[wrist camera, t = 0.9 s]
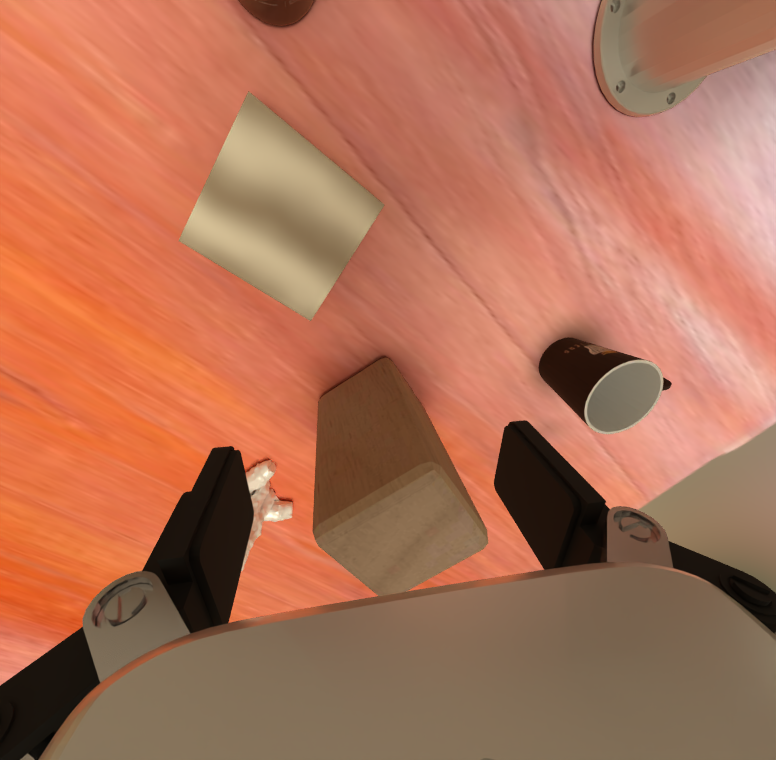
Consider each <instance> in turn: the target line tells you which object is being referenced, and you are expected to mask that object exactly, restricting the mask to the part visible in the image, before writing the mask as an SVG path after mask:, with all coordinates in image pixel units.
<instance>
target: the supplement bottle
mask: <svg viewBox="0 0 776 760" xmlns="http://www.w3.org/2000/svg"><path fill="white" fill-rule="evenodd" d="M239 1H240V3H241V4H242V5H243V6H244V7H245V8H246V9H247V10H248V11H249V12H250V13H251V14H252V15H254V16H255V17H256V18H258V19H260V20H261V21H263V22H265V23H268V24H271V25H276V26H285V25H290V24H293V23H295V22H297V21H298V20H300V19H301V18H302V17H303V16H304V15H305V14H306V13H307V12H308V10H309V9H310V7H311V6H312V4H313V2H314V0H239Z"/></svg>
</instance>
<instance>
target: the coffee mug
mask: <svg viewBox="0 0 776 760" xmlns="http://www.w3.org/2000/svg"><path fill="white" fill-rule="evenodd" d="M539 372H540V375H541V377H542V378H543V379H544V381H545V382H546V383H547V384H548V385H549V386H550V387H551V388H552V389H553V390H554V391H555V392H556V393H557V394H558V395H559V396H560V397H561V398H562V399H563V400H564V401H565V402H566V403H567V404H568V405H569V406H570V407H571V408H572V410H573V411H574V412H575V413H576V414H577V415H578V416H579V417H580V418H581V419H582V420H583V421H584V422H585V423H586V424H587V425H588V426H589V427H590V428H591V429H592V430H594V431H596V432H598V433H602V434H614V433H619V432H622V431H624V430H627V429H629V428H631V427H633V426H634V425H636V424H637V423H639V422H640V421H641V420H642V419H643V418H645V417H646V416H647V415H648V414H649V412H650V411H651V410H652V409H653V408H654V406H655V405H656V403H657V401H658V399H659V397H660V395H661V392H662V390H667V389H669V388H670V387H671V384H672V383H671V382H670V381H668V380H667V379H665V378H663V375H662V372H661V370H660V368H659V367H658V366H657V365H656V364H654V363H653V362H650V361H647V360H644V359H641V358H637V357H634V356H631V355H627V354H624V353H621V352H617V351H614V350H611V349H607V348H604V347H601V346H597V345H594V344H591V343H587V342H584V341H581V340H577V339H574V338H564V339H561V340H558V341H556V342H555V343H553V344H552V345H551V346H549V347H548V348H547V350H546V351H545V352H544V354H543V355H542V357H541V360H540V363H539ZM663 384H664V385H663Z"/></svg>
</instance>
